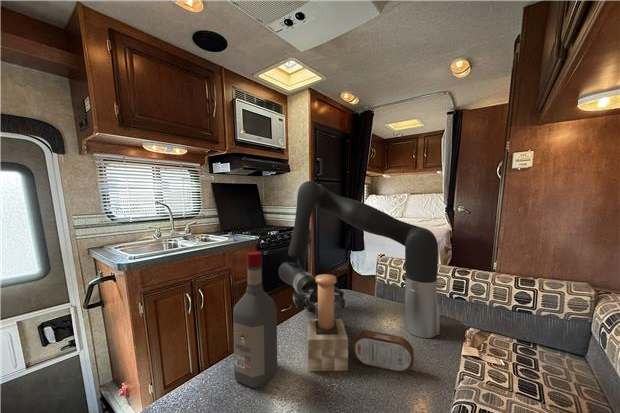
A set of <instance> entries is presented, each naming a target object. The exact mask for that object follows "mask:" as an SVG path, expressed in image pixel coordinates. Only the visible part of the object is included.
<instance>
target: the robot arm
mask: <svg viewBox="0 0 620 413" xmlns="http://www.w3.org/2000/svg"><path fill="white" fill-rule="evenodd" d="M314 208H318V209H320V210H324V211H326V212H329V213H331V214H332V215H334V216H336V217H338V219H341V221H343V222H345V223H346V224H348V225H350V226H352V227H354V228H356V229H359V230H360V231H363V232H366V233H368V234H372V235H376V236H380V237H384V238H387V239H390V240H392V241H394V242H397V243H399V244H400V245H402V246H404V255H405V256H404V257H405V258H404V259H405V261H404V262H405V263H404V265H405V266H404V267H405V307H404V308H405V317H404V318H405V320H404V323H405V325H404V326H405V330H406V331H407V332H408V333H409V334H411V335H412V336H416V337H418V338H423V339H425V338H426V339H431V338H435V337H436V336H439V335H440V331H441V330H440V328H441V327H440V326H441V325H440V320H441V318H440V317H441V316H440V315H441V314H440V312H441V311H440V310H441V307H440V304H439V303H438V301H437V300H438V273H439V272H438V271H439V270H438V269H439V264H438V263H439V243H438V240H437V238H436V235H435V234H434V233H433V232H432V231H431V230H429V229H428V228H425V227H422V226H418V225H415V224H411V223H408V222H406V221H402V220H399V219H397V218H396V217H393V216H392V215H390V214H388V213H386V212H384V211H382V210H380V209H378V208H376V207H374V206H372V205H370V204H367V203H364V202H362V201H359V200H355V199H353V198H348V197H344V196H341V195H338V194H336V193H334V192H332V191H331V190H330V189H329V190H328V189H327V188H325V187H324V186H322V185H321V184H318V183H317V182H314V181H312V180H311V181H310V180H307V181H304V182H303V183H301V184H300V186H299V187H298V190H297V197H296V209H295V220H294V225H293V230H292V235H291V238H290V243H289V247H288V252H287V253H288V256H290V257H291V258H294V259H296V260H297V262H290V261H284V262H282V263H281V264H280V266H279V267H278V276H279V278H280V280H282V282H284V283H286V284H287V285H289V286H291V287H292V288H294V290H295V291H293V292H292V302H293V304H294V305H295V307H296V309H297V310H301V309H302V308H303V309H305V310H307V312H309V313H311V314H312V315H314V314H316V305H315V303H318V283H316V276H314V275H312V274H311V273H309V272H307V265H306V260H307V251H308V248H309V243H310V238H311V237H310V236H311V218H312V214H313V210H314ZM334 304H336V305H337V306H338V307H339V308H341V309H344V308H345V306H346V301H345V299H344V291H343V290H342V289H340V288H338V287H336V286H335V285H334Z"/></svg>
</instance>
